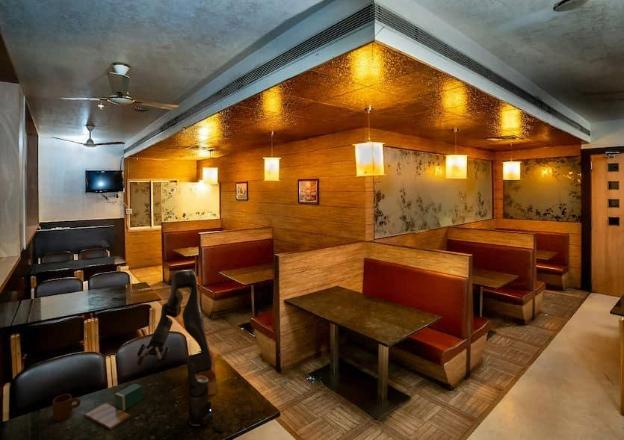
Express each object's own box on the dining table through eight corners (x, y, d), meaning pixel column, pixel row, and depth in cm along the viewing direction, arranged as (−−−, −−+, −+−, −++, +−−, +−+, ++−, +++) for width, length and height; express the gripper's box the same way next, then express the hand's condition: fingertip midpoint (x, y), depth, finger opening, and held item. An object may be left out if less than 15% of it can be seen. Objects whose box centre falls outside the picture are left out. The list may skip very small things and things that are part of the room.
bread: (193, 374, 208) (192, 350, 206) (214, 370, 212) (214, 347, 210) (192, 398, 184) (191, 371, 183) (217, 394, 188) (216, 368, 187)
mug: (85, 410, 174) (84, 392, 173) (77, 420, 166) (75, 402, 165) (59, 412, 172) (58, 394, 171) (49, 422, 165) (48, 403, 164)
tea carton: (142, 399, 183) (141, 386, 182) (122, 411, 173) (121, 397, 172) (135, 396, 185) (134, 383, 185) (115, 408, 176) (114, 393, 175)
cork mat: (130, 416, 169) (130, 414, 169) (110, 429, 160) (110, 427, 160) (105, 404, 178) (105, 402, 178) (85, 415, 170) (85, 414, 169)
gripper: (145, 331, 185) (131, 361, 173) (172, 334, 185) (160, 364, 173) (147, 338, 190) (134, 367, 178) (174, 341, 190) (163, 371, 179)
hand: (147, 366), depth 176 cm, fingers open, 8 cm apart
